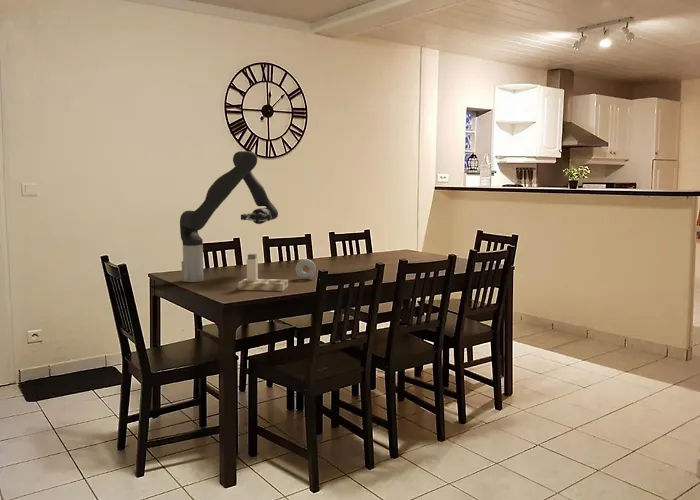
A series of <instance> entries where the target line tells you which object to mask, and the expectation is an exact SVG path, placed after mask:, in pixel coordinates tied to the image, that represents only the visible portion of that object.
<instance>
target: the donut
mask: <svg viewBox="0 0 700 500" xmlns="http://www.w3.org/2000/svg"><path fill="white" fill-rule="evenodd" d="M305 266H306V267H307V268H308V271H307V272H306V271H304V270H303V268H304V267H305ZM316 271H317V267H316V264H315V262H314V261H313V260H311V259H308V258H304V259H303V258H302V259H301V260H299V261H298V262H297V263H296V266H295V273H296V275H297V277H299V278H301V279H302V280H309V279H311V278H313V277H314V276H315V274H316Z"/></svg>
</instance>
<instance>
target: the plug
mask: <svg viewBox="0 0 700 500" xmlns="http://www.w3.org/2000/svg"><path fill="white" fill-rule="evenodd" d="M257 255H258V254H257V253H249V254H248V255H247V259H246V279H247V282H258V279H259V277H258V276H259V275H258V274H259V272H258V271H259V270H258V269H259V267H258V266H259V262H258V260H259V259H258V257H257Z"/></svg>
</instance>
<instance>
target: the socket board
mask: <svg viewBox="0 0 700 500" xmlns="http://www.w3.org/2000/svg"><path fill="white" fill-rule="evenodd" d="M288 287H289V279H282V278H281V279H279V278H278V279H276V278H273V279H272V278H258V282H247V278H244V279H242V280H240V281H239V282H237V290H238V291H279V292H281V291H284V290H286V289H287V288H288Z"/></svg>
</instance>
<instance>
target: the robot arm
mask: <svg viewBox="0 0 700 500" xmlns="http://www.w3.org/2000/svg"><path fill="white" fill-rule="evenodd" d="M232 162H233V166H234V167H233V168H231V169H230V170H229V171H227V172H225V173H224V174H222V175H220V176H219V177H218V178H217V179H215V181H214V182H213V183H212V184H211V185H210V187H209V188H208V190H207V191H206V195H205V198H204V200H203V202H202V203H201V205H199V207H198V208H197V209H195V210H185V211H184V212H182V214H181V215H180V218H179V230H180V231H179V232H180V233H179V234H180V239H181V242H182V261H181V282H186V283H198V282H203V281H204V246H203V245H204V241H203V238H202V237H201V236H200V235H199V231H200V230H202V229H203V228H204V227H205V226H206V224H207V223H208V222H209V220H210V219H211V217H212V216H213V214H214V213H215V212H216V210H218V208H219V207H220V205H222V203H224V201H225V200H226V199H227V198H228V197H229V195H230V194H231V193H232V192H233V190H234V189H235V188H236V187H237V186H238V185H239V184H240V183H241V181H243V182H244V183H245V184H246V186H247V188H248V190H249V192H250V194H251V196H252V199H253V200H254V203H255V204H256V206H257V207H261V208H256V209H254V210H252V212H250V213H243V214H240V220H241V221H248V222H249V221H250V222H251V221H252V222H253V223H254V224H256V225H262V224H264V223H266V222H269V221H272V220H276V219H277V218H278V217H279V211H278V209H277V208H276V206H275V205H274V204H273V203H272V202H271V200H270V199H269V197H268V194H267V193H266V190H265V188H264V186H263V185H262V184H261V182H260V181H259V179H257V178H256V176H255V175H254V174H253V172H252V171H253V170H254V169H255V167H256V166H257V164H258V156H257V154H256V153H255V152H254V151H251V150H249V151H247V150H246V151H244V150H243V151H241V150H240V151H237V152H235V153H234V154H233V157H232Z"/></svg>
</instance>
